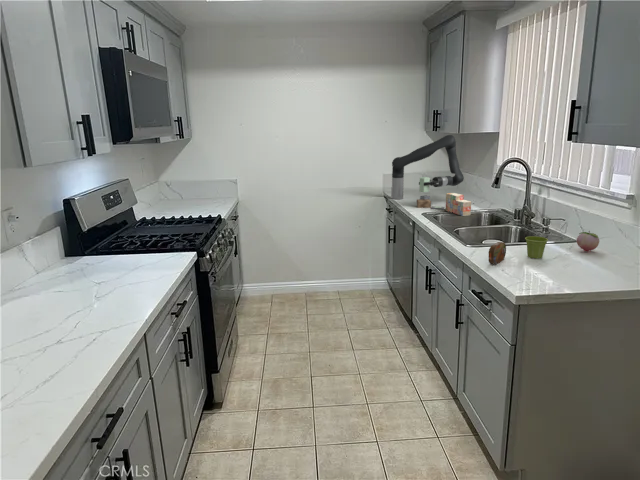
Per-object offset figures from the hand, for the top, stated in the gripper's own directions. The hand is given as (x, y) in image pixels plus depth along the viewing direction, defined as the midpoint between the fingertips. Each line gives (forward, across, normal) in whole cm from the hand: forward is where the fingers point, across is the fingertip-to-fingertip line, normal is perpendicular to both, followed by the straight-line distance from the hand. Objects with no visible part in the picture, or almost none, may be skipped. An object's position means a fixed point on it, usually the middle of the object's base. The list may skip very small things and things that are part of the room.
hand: (421, 183), depth 318 cm
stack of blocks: (-7, +30, +18) cm, 35 cm away
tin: (+54, +120, +18) cm, 133 cm away
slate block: (-11, -9, +17) cm, 23 cm away
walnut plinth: (-2, 0, +18) cm, 18 cm away
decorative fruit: (+7, +130, +18) cm, 131 cm away
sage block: (-3, 0, +6) cm, 7 cm away
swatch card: (-7, +10, +17) cm, 21 cm away
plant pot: (+34, +124, +18) cm, 130 cm away
